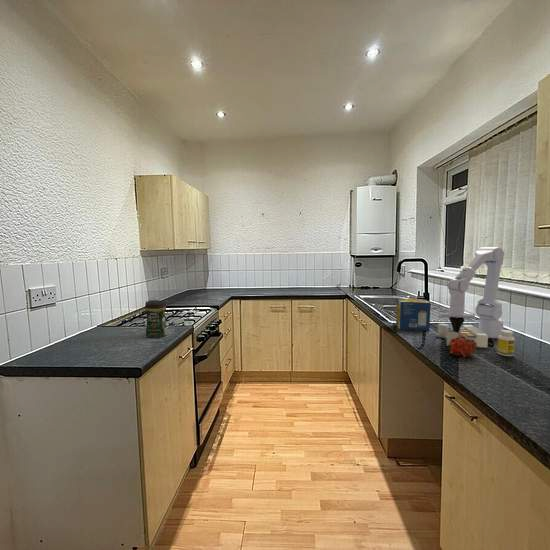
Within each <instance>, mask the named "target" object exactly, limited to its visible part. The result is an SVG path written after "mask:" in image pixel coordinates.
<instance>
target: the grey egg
mask: <svg viewBox="0 0 550 550" xmlns="http://www.w3.org/2000/svg"><path fill="white" fill-rule="evenodd" d="M459 334H460V332H458V333H457V332H453V330H452V331H449V330H448V332H447V338H446V346H447V347H448V345H449V344H450V342H451V340H452V339H456V338H457V337H459Z"/></svg>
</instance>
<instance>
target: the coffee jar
mask: <svg viewBox="0 0 550 550" xmlns="http://www.w3.org/2000/svg"><path fill="white" fill-rule="evenodd" d="M166 308H167V306H166V302H165V300H162V299H161V300H158V299H153V300H151V299H150V300H148V301H145V306H144V310H145V313H146V327H145V336H146V337H145V338H150V339H151V338H152V339H161V338H164V337H166V336H167V334H168V333H167V331H168V330H167V323H166Z"/></svg>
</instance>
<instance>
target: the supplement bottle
mask: <svg viewBox="0 0 550 550" xmlns="http://www.w3.org/2000/svg"><path fill="white" fill-rule="evenodd" d="M513 335H514V331H513V330H508V329H503V330H501V335H499V336H498V338H497V347H496V348H497V350H496V353H497V354H498V355H500V356H505V357H513V356H514V354H515V353H514V352H515V337H514V336H513Z"/></svg>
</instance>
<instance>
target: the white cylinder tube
mask: <svg viewBox="0 0 550 550" xmlns="http://www.w3.org/2000/svg"><path fill="white" fill-rule="evenodd" d="M447 332H449V324H446V323H438V324H437V337H438V338H442V339H447Z"/></svg>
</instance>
